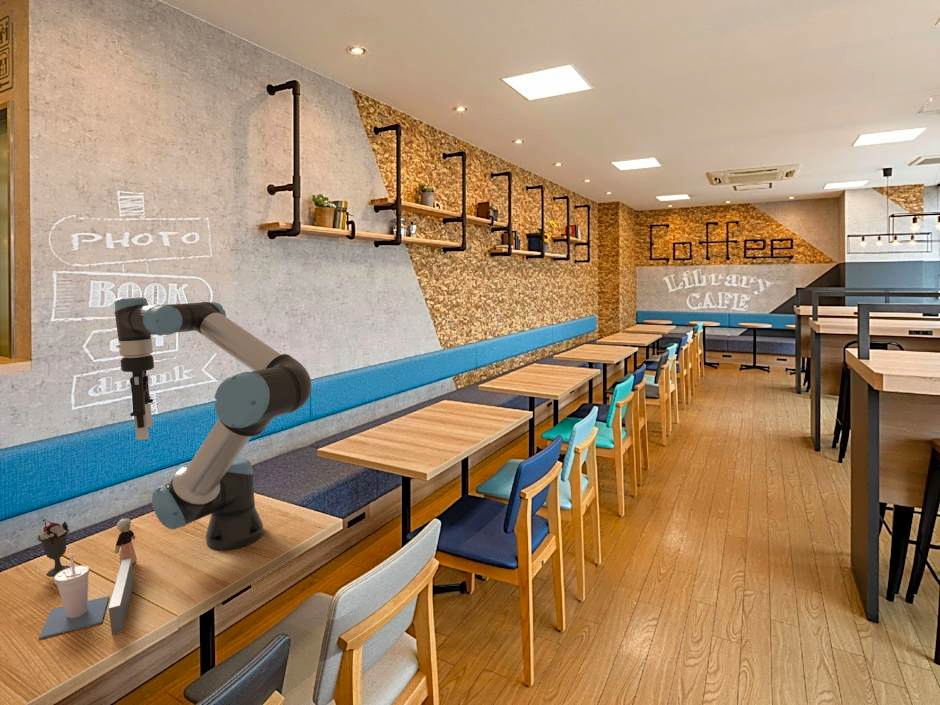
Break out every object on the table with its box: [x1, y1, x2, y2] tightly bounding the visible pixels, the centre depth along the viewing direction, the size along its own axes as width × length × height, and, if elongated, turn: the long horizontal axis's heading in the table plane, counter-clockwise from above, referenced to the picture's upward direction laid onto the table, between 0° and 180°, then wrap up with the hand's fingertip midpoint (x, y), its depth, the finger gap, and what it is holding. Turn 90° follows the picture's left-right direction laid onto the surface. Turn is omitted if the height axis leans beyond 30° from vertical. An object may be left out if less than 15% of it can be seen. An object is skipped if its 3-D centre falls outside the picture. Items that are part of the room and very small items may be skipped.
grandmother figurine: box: [114, 518, 138, 569], centre depth 142 cm, size 8×4×13 cm, turn 12°
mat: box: [38, 595, 110, 640], centre depth 121 cm, size 11×11×1 cm
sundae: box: [36, 518, 71, 576], centre depth 140 cm, size 7×7×15 cm
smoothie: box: [53, 554, 90, 618], centre depth 121 cm, size 6×6×14 cm
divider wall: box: [108, 559, 135, 635], centre depth 124 cm, size 2×22×6 cm, turn 26°
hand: (145, 432), depth 148 cm, fingers open, 13 cm apart
